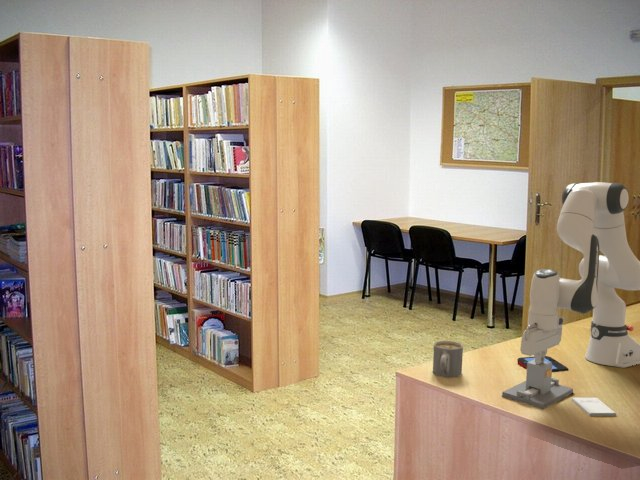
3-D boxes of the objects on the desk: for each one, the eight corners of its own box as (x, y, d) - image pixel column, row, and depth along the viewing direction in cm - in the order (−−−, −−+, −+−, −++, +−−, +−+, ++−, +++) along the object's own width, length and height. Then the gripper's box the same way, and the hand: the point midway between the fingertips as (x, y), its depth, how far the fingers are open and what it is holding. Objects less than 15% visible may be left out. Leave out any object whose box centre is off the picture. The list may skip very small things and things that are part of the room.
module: (533, 385, 221) (534, 359, 220) (551, 390, 217) (553, 363, 216) (525, 389, 218) (527, 362, 217) (543, 394, 214) (545, 367, 212)
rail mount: (533, 381, 230) (533, 372, 229) (572, 392, 220) (573, 383, 219) (502, 396, 216) (502, 387, 215) (543, 409, 206) (543, 399, 205)
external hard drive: (589, 418, 201) (571, 401, 214) (616, 418, 202) (597, 401, 214) (589, 413, 201) (572, 397, 213) (616, 412, 202) (597, 396, 214)
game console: (534, 375, 237) (535, 369, 237) (514, 363, 249) (514, 357, 249) (569, 371, 242) (570, 365, 241) (547, 360, 254) (548, 354, 253)
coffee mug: (439, 366, 244) (440, 339, 242) (465, 371, 238) (467, 344, 237) (423, 376, 233) (425, 348, 231) (451, 382, 227) (452, 353, 226)
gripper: (535, 328, 205) (532, 372, 207) (566, 317, 219) (563, 359, 221) (516, 324, 209) (513, 367, 211) (548, 314, 223) (545, 354, 225)
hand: (539, 363), depth 216 cm, fingers closed, pressing on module
